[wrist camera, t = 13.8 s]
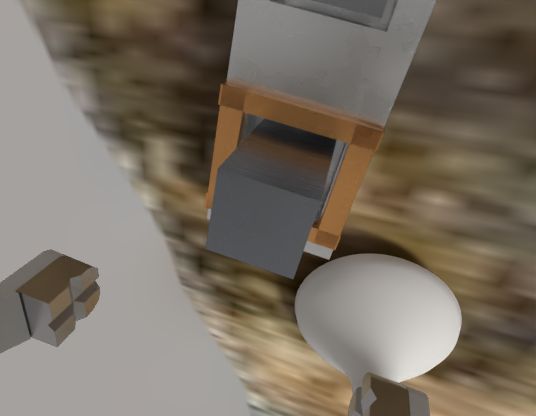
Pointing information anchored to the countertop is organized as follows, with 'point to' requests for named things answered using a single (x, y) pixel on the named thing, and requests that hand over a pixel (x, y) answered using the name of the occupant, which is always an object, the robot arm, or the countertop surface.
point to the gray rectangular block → (269, 196)
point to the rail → (318, 87)
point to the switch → (360, 6)
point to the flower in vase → (377, 316)
